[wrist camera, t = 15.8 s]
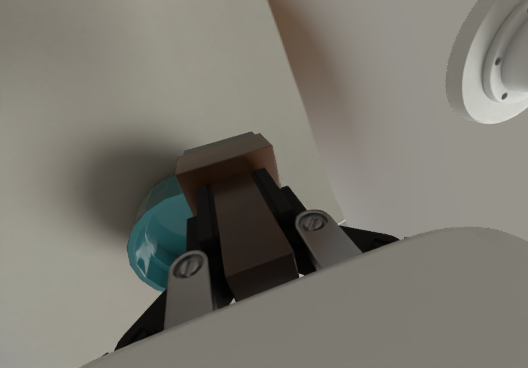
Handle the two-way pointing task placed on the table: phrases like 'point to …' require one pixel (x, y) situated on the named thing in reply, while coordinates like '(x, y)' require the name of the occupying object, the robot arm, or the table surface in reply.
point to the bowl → (159, 233)
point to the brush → (241, 211)
